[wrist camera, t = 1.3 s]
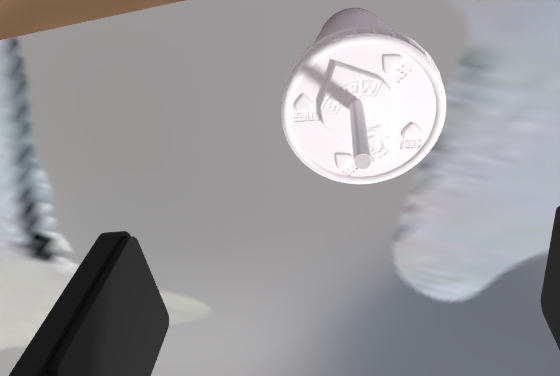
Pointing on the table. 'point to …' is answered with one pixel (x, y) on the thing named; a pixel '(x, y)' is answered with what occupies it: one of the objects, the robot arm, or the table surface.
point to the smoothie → (362, 101)
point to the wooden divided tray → (61, 13)
